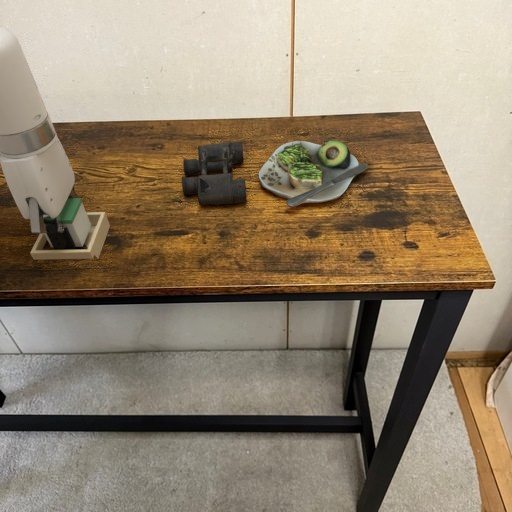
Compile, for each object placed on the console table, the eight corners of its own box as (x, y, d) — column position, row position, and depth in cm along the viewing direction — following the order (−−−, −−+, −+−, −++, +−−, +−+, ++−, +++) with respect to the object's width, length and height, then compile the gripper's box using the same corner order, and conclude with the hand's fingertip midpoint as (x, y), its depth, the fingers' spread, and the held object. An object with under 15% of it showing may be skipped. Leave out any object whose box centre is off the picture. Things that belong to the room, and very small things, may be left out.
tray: (37, 267, 70) (29, 253, 68) (56, 226, 77) (50, 213, 75) (96, 266, 70) (89, 252, 68) (110, 225, 76) (105, 211, 74)
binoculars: (183, 212, 78) (177, 182, 74) (187, 159, 89) (182, 131, 85) (247, 207, 78) (245, 177, 74) (243, 155, 89) (240, 126, 85)
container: (50, 247, 70) (36, 220, 66) (61, 225, 74) (48, 198, 70) (83, 247, 70) (70, 219, 66) (91, 224, 74) (80, 197, 69)
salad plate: (333, 227, 74) (336, 205, 70) (239, 197, 80) (237, 176, 77) (373, 165, 85) (376, 143, 82) (287, 143, 92) (287, 122, 88)
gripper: (19, 101, 65) (64, 201, 78) (-36, 172, 53) (28, 275, 66) (71, 100, 64) (107, 200, 77) (27, 170, 53) (78, 275, 66)
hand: (70, 234), depth 72 cm, fingers closed on container, 5 cm apart
